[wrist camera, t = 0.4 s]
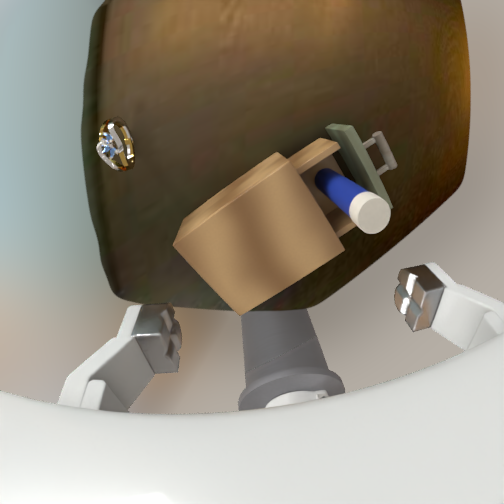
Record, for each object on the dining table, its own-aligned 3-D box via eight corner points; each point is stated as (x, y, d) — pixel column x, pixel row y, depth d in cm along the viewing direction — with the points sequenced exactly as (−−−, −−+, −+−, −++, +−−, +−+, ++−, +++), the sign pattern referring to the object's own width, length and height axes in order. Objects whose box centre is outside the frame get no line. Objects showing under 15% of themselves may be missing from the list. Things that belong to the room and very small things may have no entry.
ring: (115, 120, 31) (88, 122, 24) (136, 113, 31) (113, 113, 24) (125, 168, 34) (102, 181, 27) (146, 162, 34) (126, 174, 27)
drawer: (356, 108, 32) (380, 109, 26) (391, 177, 37) (417, 190, 31) (240, 183, 36) (242, 198, 30) (287, 247, 41) (297, 271, 35)
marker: (342, 183, 36) (395, 220, 23) (321, 197, 36) (366, 241, 24) (330, 162, 34) (382, 190, 22) (308, 176, 35) (351, 211, 23)
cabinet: (276, 151, 35) (290, 161, 28) (324, 223, 40) (345, 250, 33) (183, 218, 39) (172, 245, 31) (237, 280, 44) (239, 316, 36)
